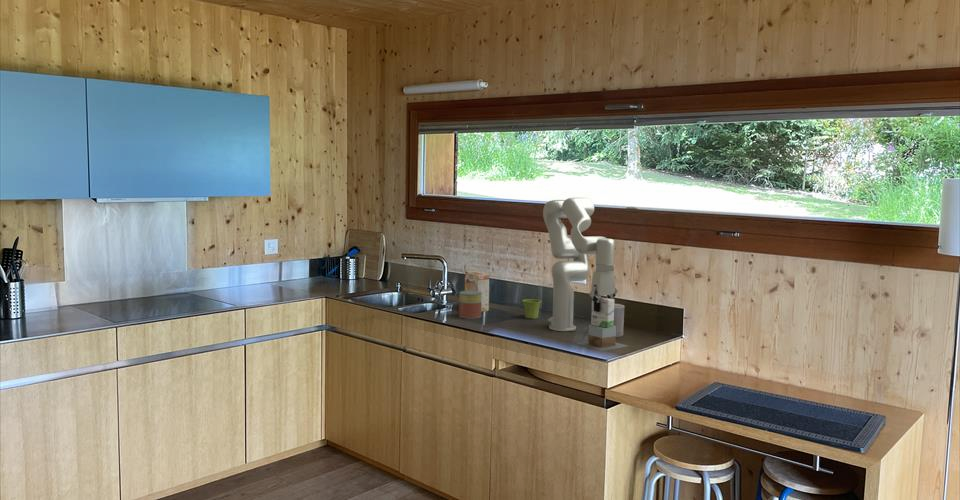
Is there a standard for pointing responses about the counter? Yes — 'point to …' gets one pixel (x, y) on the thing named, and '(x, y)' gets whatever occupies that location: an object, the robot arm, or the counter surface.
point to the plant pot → (531, 308)
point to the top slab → (602, 331)
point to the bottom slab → (601, 341)
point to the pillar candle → (619, 319)
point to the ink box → (603, 313)
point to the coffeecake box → (478, 286)
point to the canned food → (470, 304)
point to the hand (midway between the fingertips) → (602, 310)
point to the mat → (585, 343)
